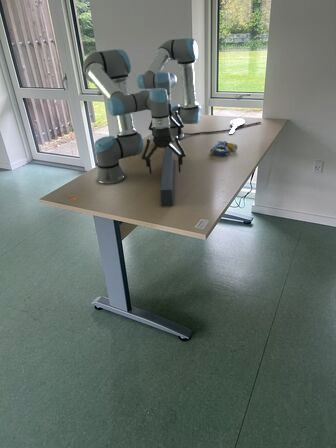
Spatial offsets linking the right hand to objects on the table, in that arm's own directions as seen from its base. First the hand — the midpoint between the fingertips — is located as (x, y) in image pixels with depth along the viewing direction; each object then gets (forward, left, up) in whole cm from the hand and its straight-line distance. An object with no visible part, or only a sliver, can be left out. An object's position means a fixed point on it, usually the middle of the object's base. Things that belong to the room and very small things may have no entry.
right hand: (167, 140), depth 195 cm
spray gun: (-39, +3, -15) cm, 42 cm away
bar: (+11, +20, -15) cm, 27 cm away
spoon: (-78, -35, -15) cm, 87 cm away
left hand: (+23, +40, -1) cm, 46 cm away
